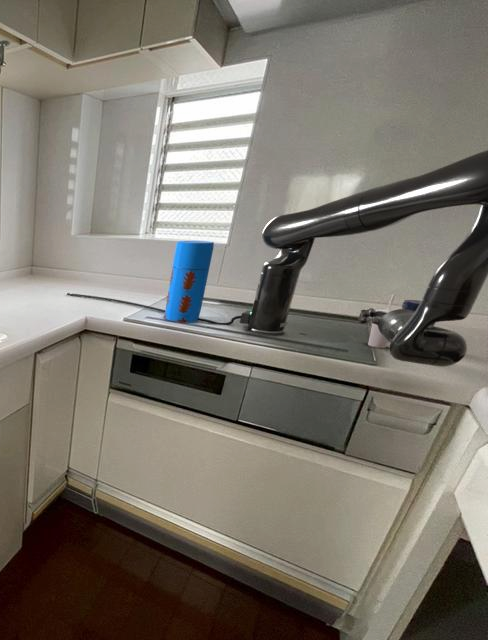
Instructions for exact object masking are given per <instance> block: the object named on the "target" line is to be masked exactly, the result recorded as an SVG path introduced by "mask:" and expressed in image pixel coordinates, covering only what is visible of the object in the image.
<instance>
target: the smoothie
mask: <svg viewBox="0 0 488 640" xmlns="http://www.w3.org/2000/svg"><path fill="white" fill-rule="evenodd" d="M395 297H396V294H394V293H392V295H391V298H390V300H389V302H388V305H387V308H381V307H380V308H374V310H375V311H385V312H391V311H393V310H395V309H393V308H391V307H392V305H393V303H394V300H395ZM382 315H383V314H382ZM389 344H390V342H389V341H388V340H387V339H386V338H385V337H384V336H383V335H382V334H381V333H380V331H379V329H378V325H376V324H373V323H372V322H371V329H370V332H369V338H368V342H367V345H368V346H369V347H373V348H378V349H385V348H387V347H388V345H389Z"/></svg>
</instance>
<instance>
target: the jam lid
mask: <svg viewBox="0 0 488 640" xmlns="http://www.w3.org/2000/svg"><path fill="white" fill-rule="evenodd" d="M420 303H421V300H419V299H404V300H403V302H402V305H401V309H402V308H403V309H407V310H412V311H416V310H417V308H418V306H419V305H420Z"/></svg>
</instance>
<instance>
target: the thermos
mask: <svg viewBox="0 0 488 640" xmlns="http://www.w3.org/2000/svg"><path fill="white" fill-rule="evenodd" d="M214 247H215V242H214V241H209V240H208V241H207V240H178V241H177V243H176V245H175V251H174V257H173V261H172V262H173V263H172V269H171V273H170V274H171V275H170V280H169V286H168V292H167V297H166V304H165V310H166V311H165V312H164V318H165V319H166V320H168V321H171V322H176V323H177V322H178V323H185V324H186V323H197V322H198V318H200V314H201V310H202V308H203V307H202V306H203V302H204V296H205V292H206V287H207V282H208V278H209V272H210V268H211V267H210V266H211V262H212V257H213V252H214Z"/></svg>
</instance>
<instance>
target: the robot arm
mask: <svg viewBox="0 0 488 640" xmlns="http://www.w3.org/2000/svg"><path fill="white" fill-rule="evenodd" d="M460 206H479V209H478V213H477V215H476V218H475V221H474V222H473V224H472V226H471V228H470V229H469V231H468V233H467V234H466V235H465V237H464V238H463V239H462V241H460V243H459V244H458V245H457V246H456V247H455V248H454V249H453V250H452V251H451V252H450V254H448V256H446V258H445V259H444V260H443V261H442V262H441V263H440V264H439V266H438V267H437V268H436V270H435V271H434V273H433V274H432V276H431V278H430V280H429V282H428V284H427V287H426V289H425V291H424V294H423V296H422V297H421V300H420V301H421V303H420V305H419V306H418V308H417V310H416V311H415V312H414V311H411V310H407V309H402V308H400V309H394V310H393V311H391V312H385V311H375V308H372V307H369V308H368V309H361V310H360V313H359V316H358V318H357V321H358V323H359V324H362V325H364V324H365V325H366V324H367V323H368V322H371V324H372V323H373V324H376V325H378V329H379V331H380V333H381V334H382V335H383V336H384V337H385V338H386V339H387V340H388V341H389V354H390V355H391V356H392V358H393V359H394V360H396V361H400V362H406V363H412V364H419V365H425V366H432V367H438V368H439V367H442V368H443V367H444V368H445V367H450V366H453V365H455V364H457V363H459V362H461V361H462V360H463V358H465V356H466V354H467V351H468V344H467V341H466V340H465V338H464V337H463V336H462V335H461V334H460V333H459V332H457V331H454V330H451V329H446V328H443V327H439V326H435V325H436V323H440V322H456V321H463V320H465V319H466V318H467V317H468V316H469V315H470V314H471V312H472V309H473V307H474V305H475V304H476V301H477V299H478V298H479V297H478V296H480V292H481V290H482V289H483V287H484V284H485V282H486V280H487V278H488V149H486V150H483V151H480V152H477V153H474V154H472V155H469V156H467V157H465V158H462V159H459V160H457V161H455V162H452V163H449V164H447V165H445V166H442V167H440V168H437V169H434V170H432V171H429V172H426V173H424V174H420V175H416V176H413V177H410V178H409V177H408V178H405V179H400V180H397V181H394V182H389V183H388V184H383V185H379V186H376V187H373V188H370V189H367V190H363V191H360V192H357V193H354V194H352V195H351V194H350V195H348V196H345V197H343V198H339V199H335V200H333V201H331V202H328V203H325V204H322V205H319V206H317V207H314V208H309V209H307V210H302V211H298V212H292V213H285V214H280V215H278V216H275V217H274V218H272V219H271V220H270V221H269V222H268V223H267V224H266V225H265V227H264V229H263V231H262V234H261V239H262V242H263V243H264V245H265V246H266V247H268V248H270V249H273V250H278V251H279V253H278V254H277V255H276V256H275V257H273V258H272V259H270V260H268V261H265V262H264V263H263V265H262V267H261V272H260V275H259V280H258V283H257V288H256V292H255V296H254V298H253V302H252V307H251V309H250V310H245V311H243V312H241V315H237V316H234V317H232V318H231V319H230V321H227V322H218V321H214V320H211V319H207V318H200V317H199V318H198V321H199V322H205V323H209V324H212V325H225V326H230V325H232V324H234V322H235V321H236V320H239V324H244V325H246V331H248V332H253V333H257V334H262V335H272V336H278V335H282V334H284V331H285V327H287V324H288V322H287V320H288V316H289V313H290V309H291V305H292V302H293V298H294V295H295V292H296V288H297V285H298V281H299V278H300V274H301V271H302V270H303V268H304V267H305V265H307V262H308V260H309V257H310V253H311V251H312V248H313V246H314V243H315V239H318V238H319V239H320V238H334V237H335V238H336V237H345V236H347V237H348V236H353V235H360V234H365V233H369V232H374V231H375V232H376V231H379V230H383V229H387V228H389V227H392V226H395V225H397V224H399V223H401V222H403V221H405V220H407V219H409V218H411V217H413V216H415V215H418V214H420V213H425V212H430V211H435V210H440V209H446V208H453V207H460ZM70 293H71V292H67V293H66V295H67V296H72V297H82V298H90V299H96V300H104V301H109V302H110V301H111V302H116V303H121V304H126V305H131V306H136V307H140V308H143V309H144V308H145V309H149V310H153V311H157V312H161V313H165V311H166V309H162V308H158V307H154V306H150V305H146V304H141V303H136V302H131V301H127V300H121V299H115V298H110V297H109V298H108V297H104V296H103V297H102V296H96V295H88V294H79V293H72V294H70ZM382 314H383V315H382ZM198 321H197V322H198Z"/></svg>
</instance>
